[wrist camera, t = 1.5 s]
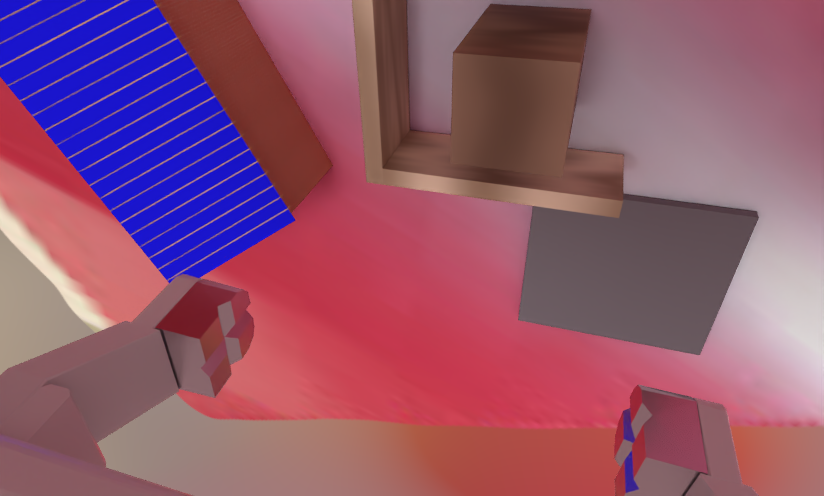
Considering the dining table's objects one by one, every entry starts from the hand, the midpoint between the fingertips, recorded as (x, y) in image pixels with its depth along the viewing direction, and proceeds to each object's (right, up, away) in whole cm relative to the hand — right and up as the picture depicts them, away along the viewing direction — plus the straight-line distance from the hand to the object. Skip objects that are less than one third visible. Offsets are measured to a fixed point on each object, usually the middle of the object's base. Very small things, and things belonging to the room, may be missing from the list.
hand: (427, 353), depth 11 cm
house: (-15, +14, +25) cm, 32 cm away
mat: (+13, +1, +24) cm, 27 cm away
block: (+6, +12, +18) cm, 23 cm away
